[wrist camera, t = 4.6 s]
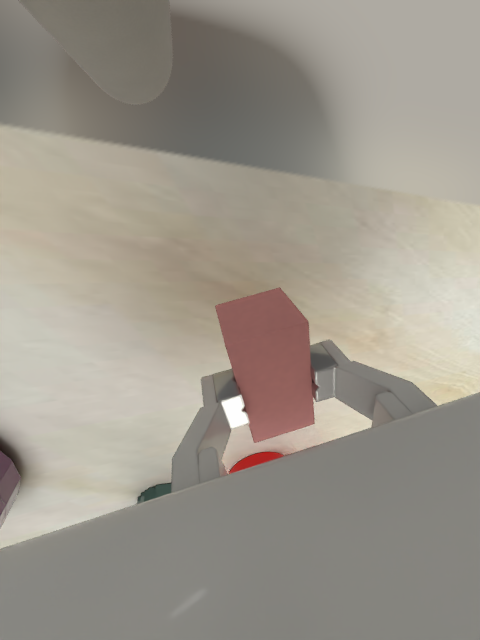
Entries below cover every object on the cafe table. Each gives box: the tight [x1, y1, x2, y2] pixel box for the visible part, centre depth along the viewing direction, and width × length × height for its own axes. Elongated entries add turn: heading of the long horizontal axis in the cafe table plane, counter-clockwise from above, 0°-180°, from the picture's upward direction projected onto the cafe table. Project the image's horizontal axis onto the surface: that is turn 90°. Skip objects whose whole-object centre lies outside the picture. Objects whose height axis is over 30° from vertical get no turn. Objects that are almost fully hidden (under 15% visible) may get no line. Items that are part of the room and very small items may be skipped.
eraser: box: [215, 288, 314, 443], centre depth 12 cm, size 6×3×3 cm, turn 12°
